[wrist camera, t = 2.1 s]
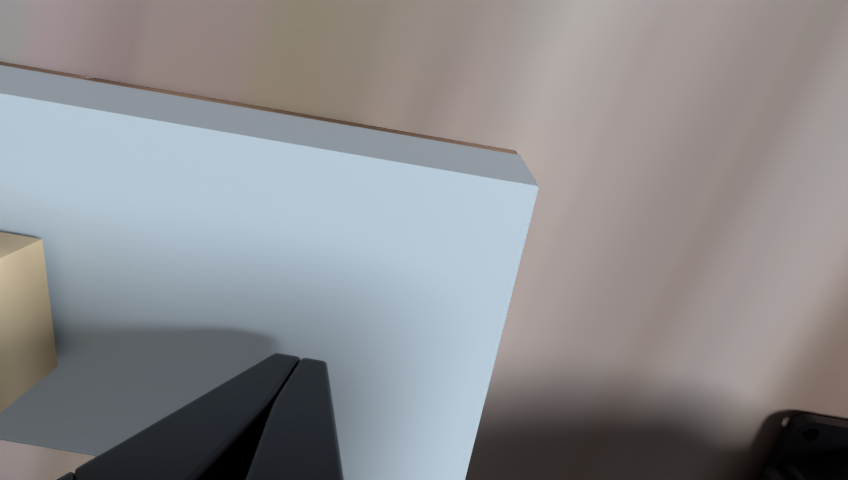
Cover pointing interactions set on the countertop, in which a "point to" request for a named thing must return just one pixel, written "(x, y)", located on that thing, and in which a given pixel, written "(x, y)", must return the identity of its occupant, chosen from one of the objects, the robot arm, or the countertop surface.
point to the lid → (258, 266)
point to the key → (24, 317)
